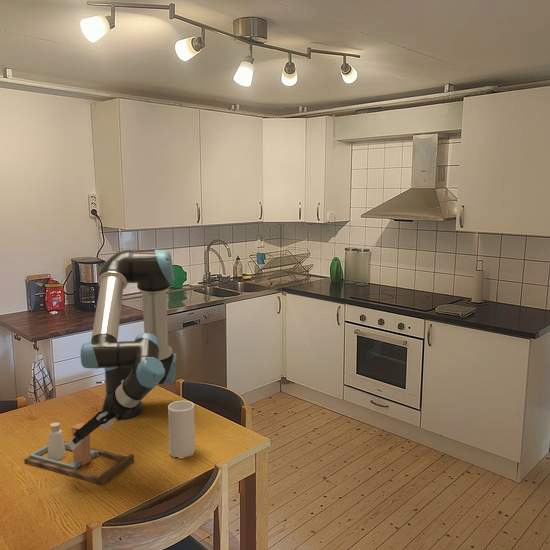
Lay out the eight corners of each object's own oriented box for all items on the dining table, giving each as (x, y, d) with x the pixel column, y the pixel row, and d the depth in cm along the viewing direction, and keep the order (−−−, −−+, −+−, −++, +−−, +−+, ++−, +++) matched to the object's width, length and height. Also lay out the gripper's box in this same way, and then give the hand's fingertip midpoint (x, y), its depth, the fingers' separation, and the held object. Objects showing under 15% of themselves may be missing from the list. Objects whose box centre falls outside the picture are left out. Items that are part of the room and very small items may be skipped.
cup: (170, 446, 169) (169, 400, 167) (195, 445, 170) (194, 400, 167) (167, 458, 161) (166, 411, 159) (194, 458, 162) (193, 410, 159)
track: (134, 461, 159) (133, 454, 159) (103, 484, 146) (102, 477, 146) (59, 443, 171) (59, 436, 170) (24, 462, 158) (24, 455, 158)
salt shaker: (48, 462, 159) (46, 429, 157) (47, 454, 163) (45, 422, 162) (66, 458, 161) (65, 425, 159) (65, 450, 166) (63, 418, 164)
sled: (98, 455, 162) (97, 420, 160) (74, 471, 153) (71, 434, 151) (55, 444, 169) (53, 410, 167) (29, 459, 160) (26, 423, 158)
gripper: (144, 374, 160) (107, 411, 168) (87, 403, 137) (48, 444, 145) (158, 392, 159) (121, 429, 166) (103, 425, 136) (63, 466, 144)
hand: (87, 436), depth 156 cm, fingers open, 13 cm apart
